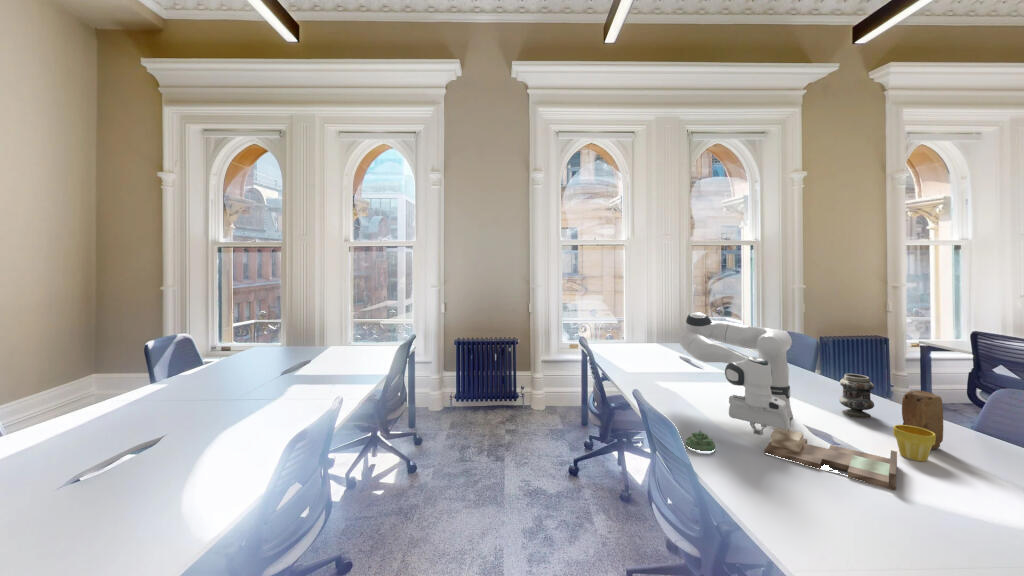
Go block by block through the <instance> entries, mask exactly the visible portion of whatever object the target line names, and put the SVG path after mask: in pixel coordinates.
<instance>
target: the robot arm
mask: <svg viewBox="0 0 1024 576" xmlns="http://www.w3.org/2000/svg"><path fill="white" fill-rule="evenodd" d="M685 323H686V325H685V331H684V332H683V333H682V334H681V335H680V336H679V345H680V347H681V348H682V349H683V350H684V351H685V352H686V353H687V354H689V355H690V356H692V358H694V359H695V360H697V361H700V362H703V363H723V364H726V366H725V369H724V376H725V378H726V380H727V381H728V383H730V384H731V385H733V386H738V387H739V386H741V387H743V388H744V395H743V396H741V395H737V394H732V395H730V396H729V397H728V403H729V407H728V415H729V417H730V418H732V419H737V420H740V421H744V422H748V423H749V425H750V428H752V430H753V432H752V433H753V435H758V436H763V435H764V430H765V429H766V428H767V427H771V428H774V429H775V428H779V429H783V430H789V428H790V427H791V421H790V420H791V419H792V418H793V417H794V415H793V411H792V407H791V401H790V398H791V386H790V368H789V364H788V358H787V351H788V350H789V349H790V348H791V347H792V342H793V340H792V337H791V335H790V334H789V333H788V332H786V331H784V330H781V329H776V328H768V327H761V326H760V327H759V326H751V325H746V324H741V323H735V322H729V321H723V320H722V321H721V320H713V319H711V318H710V317H709V316H708V315H707V314H705V313H703V312H692V313H689V314H687V316H686V319H685ZM713 340H714V341H713ZM717 342H718V343H717ZM720 343H721V344H720ZM722 344H725V345H730V346H735V347H739V348H741V349H743V348H744V349H752V350H757V353H758V355H757V356H758V357H757V356H748V355H745V354H744V353H741V352H739V351H737V350H734V349H732V348H730V347H727V346H724V345H722ZM756 424H757V425H760V427H761V428H757V427H756Z"/></svg>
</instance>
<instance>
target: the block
mask: <svg viewBox="0 0 1024 576" xmlns="http://www.w3.org/2000/svg"><path fill="white" fill-rule="evenodd" d="M943 406H944V405H943V399H942V397H941V396H940V395H937V394H934V393H932V392H929V391H925V390H908V391H906V393H905V394H904V396H902V400H901V416H902V417H901V418H902V421H903V422H902V425H909V426H915V427H919V428H923V429H926V430H929V431H931V432H933V433H935V435H936V441H935V444H934V445H932V448H931V450H936V449H939V448H940V447H941V443H943V440H944V407H943Z"/></svg>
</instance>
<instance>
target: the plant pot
mask: <svg viewBox="0 0 1024 576" xmlns="http://www.w3.org/2000/svg"><path fill="white" fill-rule="evenodd" d="M892 428H893V429H892V431H893V436H894V438H895V439H896V442H897V447H898V451H899V455H900V456H902V457H904V458H906V459H909V460H912V461H915V462H916V461H917V462H927V461H928V459H929V455H930V453H931V451H932V449H931V448H932V445H934V444H935V441H936V435H935V433H933V432H931V431H929V430H926V429H923V428H919V427H915V426H909V425H903V424H894V425H893V427H892Z"/></svg>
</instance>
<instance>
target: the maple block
mask: <svg viewBox="0 0 1024 576" xmlns="http://www.w3.org/2000/svg"><path fill="white" fill-rule="evenodd" d="M803 438H804V433H803V432H799V431H795V430H790V429H787V430H783V429H779V428H775V427H774V430H773V431H772V432H771V433H770V441H771V445H775V446H779V447H783V448H787V449H791V450H795V451H800V449H801V447H802V445H803Z"/></svg>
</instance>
